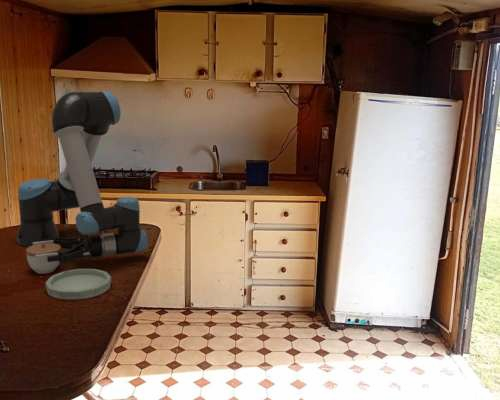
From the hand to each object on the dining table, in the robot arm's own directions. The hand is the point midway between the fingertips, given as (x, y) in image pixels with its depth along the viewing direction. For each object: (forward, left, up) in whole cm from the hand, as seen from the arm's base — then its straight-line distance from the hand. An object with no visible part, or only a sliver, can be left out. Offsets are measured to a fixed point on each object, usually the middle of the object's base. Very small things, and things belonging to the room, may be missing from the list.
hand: (34, 252), depth 171 cm
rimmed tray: (+13, +18, -6) cm, 23 cm away
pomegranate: (-26, +14, -7) cm, 30 cm away
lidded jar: (-1, +3, -7) cm, 7 cm away
